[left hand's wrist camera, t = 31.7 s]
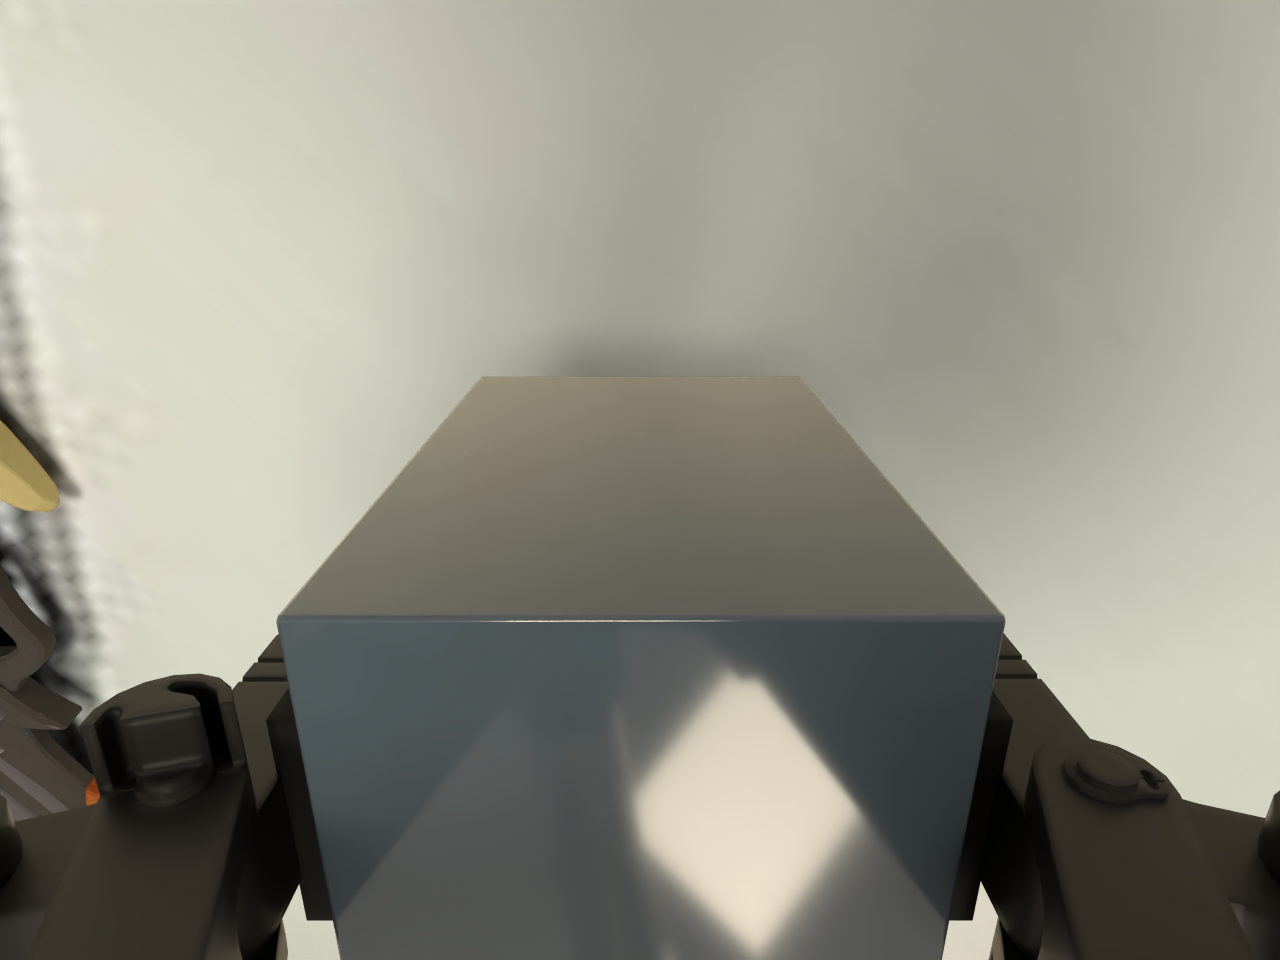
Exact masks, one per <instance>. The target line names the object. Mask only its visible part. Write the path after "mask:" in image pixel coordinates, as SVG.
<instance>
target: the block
mask: <svg viewBox="0 0 1280 960" xmlns="http://www.w3.org/2000/svg"><path fill="white" fill-rule="evenodd" d="M277 627H278V632H279V638H280V643H281V648H282V653H283V659H284V664H285V669H286V675H287V680H288V685H289V690H290V696H291V701H292V706H293V712H294V717H295V722H296V727H297V733H298V738H299V743H300V749H301V754H302V759H303V764H304V770H305V775H306V780H307V786H308V791H309V796H310V801H311V807H312V812H313V817H314V823H315V828H316V833H317V838H318V844H319V849H320V854H321V859H322V865H323V870H324V875H325V881H326V886H327V891H328V896H329V902H330V907H331V912H332V918H333V923H334V928H335V933H336V939H337V944H338V949H339V955H340V960H942V955H943V950H944V945H945V940H946V934H947V929H948V924H949V918H950V913H951V908H952V902H953V897H954V892H955V886H956V881H957V876H958V871H959V865H960V860H961V855H962V849H963V844H964V839H965V833H966V828H967V823H968V818H969V812H970V807H971V802H972V796H973V791H974V786H975V780H976V775H977V770H978V764H979V759H980V754H981V749H982V743H983V738H984V733H985V727H986V722H987V717H988V711H989V706H990V701H991V696H992V690H993V685H994V680H995V674H996V669H997V664H998V658H999V653H1000V648H1001V642H1002V637H1003V632H1004V627H1005V617H1004V615H1003V613H1002V612H1001V611H1000V610H999V609H998V608H997V606H996V605H995V604H994V603H993V602H992V601H991V599H990V598H989V597H988V596H987V595H986V594H985V592H984V591H983V590H982V589H981V588H980V587H979V585H978V584H977V583H976V582H975V581H974V580H973V578H972V577H971V576H970V575H969V574H968V573H967V571H966V570H965V569H964V568H963V567H962V566H961V564H960V563H959V562H958V561H957V560H956V559H955V557H954V556H953V555H952V554H951V553H950V552H949V550H948V549H947V548H946V547H945V546H944V545H943V543H942V542H941V541H940V540H939V539H938V538H937V536H936V535H935V534H934V533H933V532H932V531H931V529H930V528H929V527H928V526H927V525H926V524H925V522H924V521H923V520H922V519H921V518H920V517H919V515H918V514H917V513H916V512H915V511H914V510H913V508H912V507H911V506H910V505H909V504H908V503H907V501H906V500H905V499H904V498H903V497H902V496H901V494H900V493H899V492H898V491H897V490H896V489H895V487H894V486H893V485H892V484H891V483H890V482H889V480H888V479H887V478H886V477H885V476H884V475H883V473H882V472H881V471H880V470H879V469H878V468H877V466H876V465H875V464H874V463H873V462H872V460H871V459H870V458H869V457H868V456H867V455H866V453H865V452H864V451H863V450H862V449H861V448H860V446H859V445H858V444H857V443H856V442H855V441H854V439H853V438H852V437H851V436H850V435H849V434H848V432H847V431H846V430H845V429H844V428H843V427H842V425H841V424H840V423H839V422H838V421H837V420H836V418H835V417H834V416H833V415H832V414H831V413H830V411H829V410H828V409H827V408H826V407H825V406H824V404H823V403H822V402H821V401H820V400H819V399H818V397H817V396H816V395H815V394H814V393H813V392H812V390H811V389H810V388H809V387H808V386H807V385H806V383H805V382H804V381H803V380H802V379H801V378H800V377H481V378H480V379H479V380H478V381H477V382H476V383H475V385H474V386H473V387H472V388H471V389H470V391H469V392H468V393H467V394H466V395H465V396H464V398H463V399H462V400H461V401H460V402H459V403H458V405H457V406H456V407H455V408H454V409H453V411H452V412H451V413H450V414H449V415H448V416H447V418H446V419H445V420H444V421H443V422H442V423H441V425H440V426H439V427H438V428H437V429H436V431H435V432H434V433H433V434H432V435H431V436H430V438H429V439H428V440H427V441H426V442H425V443H424V445H423V446H422V447H421V448H420V449H419V451H418V452H417V453H416V454H415V455H414V456H413V458H412V459H411V460H410V461H409V462H408V463H407V465H406V466H405V467H404V468H403V469H402V470H401V472H400V473H399V474H398V475H397V476H396V478H395V479H394V480H393V481H392V482H391V483H390V485H389V486H388V487H387V488H386V489H385V490H384V492H383V493H382V494H381V495H380V496H379V498H378V499H377V500H376V501H375V502H374V503H373V505H372V506H371V507H370V508H369V509H368V510H367V512H366V513H365V514H364V515H363V516H362V518H361V519H360V520H359V521H358V522H357V523H356V525H355V526H354V527H353V528H352V529H351V530H350V532H349V533H348V534H347V535H346V536H345V537H344V539H343V540H342V541H341V542H340V543H339V545H338V546H337V547H336V548H335V549H334V550H333V552H332V553H331V554H330V555H329V556H328V557H327V559H326V560H325V561H324V562H323V563H322V565H321V566H320V567H319V568H318V569H317V570H316V572H315V573H314V574H313V575H312V576H311V577H310V579H309V580H308V581H307V582H306V583H305V585H304V586H303V587H302V588H301V589H300V590H299V592H298V593H297V594H296V595H295V596H294V597H293V599H292V600H291V601H290V602H289V603H288V605H287V606H286V607H285V608H284V609H283V610H282V612H281V613H280V614H279V615H278V617H277Z"/></svg>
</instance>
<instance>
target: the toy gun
mask: <svg viewBox="0 0 1280 960" xmlns="http://www.w3.org/2000/svg"><path fill="white" fill-rule="evenodd" d="M0 500H2V501H4V502H6V503H8V504H10V505H12V506H15V507H18V508H21V509H24V510H29V511H41V512H48V511H52V510H53V509H54V508H56V507H57V506H58V505H59V503H60V499H59V494H58V490H57V487H56V485H55V484H54V482H53V481H52V479H51V478H50V477H49V476H48V474H47V473H46V472H45V471H44V469H43V468H42V467H41V465H40V464H39V463H38V462H37V460H36V459H35V458H34V457H33V456H32V455H31V454H30V452H29V451H28V450H27V449H26V448H25V447H24V446H23V444H22V443H21V442H20V441H19V440H18V439H17V437H16V436H15V435H14V434H13V433H12V432H11V431H10V430H9V429H8V427H7V426H6V425H5V424H4V423H3V422H2V421H1V420H0ZM0 626H1V628H2V629H3V630H4V631H5V632H6V633H7V634H8V635H9V636H10V637H11V638H12V639H13V640H14V641H15V643H16V644H17V645H16V646H0V794H1V795H2V796H4V797H5V798H6V799H7V801H8V804H9V807H10V810H11V812H12V815H13V818H14V821H15V822H16V821H21V820H25V819H30V818H34V817H39V816H43V815H48V814H53V813H57V812H62V811H66V810H71V809H76V808H80V807H84V806H88V805H91V804H95V803H97V802H98V799H99V797H100V793H99V790H98V786H97V783H96V780H95V777H94V775H93V774H91V773H89V772H88V771H87V770H86V769H85V768H84V767H83V766H82V765H80V764H79V763H78V762H77V761H76V760H75V759H74V758H73V757H72V756H71V755H69V754H68V753H67V752H66V751H65V750H64V749H63V748H62V747H61V746H60V745H58V744H57V742H56V741H55V740H54V739H53V737H52V736H51V735H50V733H49V732H48V731H47V730H64V729H66V728H67V727H68V726H69V725H70V723H71V722H72V721H73V720H74V719H75V717H76V716H77V715H78V714H79V713H80V712H81V710H82V707H81V706H79V705H78V704H76V703H73V702H71V701H69V700H67V699H65V698H63V697H61V696H59V695H57V694H55V693H53V692H52V691H50V690H49V689H47V688H46V687H44V686H43V685H41V684H40V683H38V682H37V681H36V680H34V679H33V678H31V677H30V675H32V674H33V673H34V672H36V671H37V670H38V669H39V668H40V667H41V666H42V665H43V664H44V663H45V662H46V661H47V660H48V659H49V658H50V657H51V655H52V654H53V651H54V649H55V646H56V637H55V634H54V633H53V632H52V630H51V629H50V628H49V627H48V626H47V625H45V624H44V623H43V622H42V621H41V620H40V619H39V618H38V617H37V616H36V615H35V614H34V613H33V612H32V611H31V610H30V609H29V608H28V606H27V605H26V604H25V603H24V601H23V600H22V599H21V597H20V596H19V595H18V593H17V592H16V590H15V589H14V587H13V585H12V584H11V582H10V580H9V578H8V577H7V575H6V573H5V571H4V569H3V568H2V566H1V564H0Z"/></svg>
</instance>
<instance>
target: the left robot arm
mask: <svg viewBox="0 0 1280 960" xmlns="http://www.w3.org/2000/svg"><path fill="white" fill-rule="evenodd" d="M79 728H80V731H81V735H82V738H83V741H84V744H85V748H86V751H87V754H88V757H89V761H90V764H91V767H92V770H93V774H94V777H95V780H96V783H97V786H98V790H99V793H100V797H99V799H98V802H97V803H95V804H91V805H88V806H84V807H80V808H76V809H71V810H66V811H62V812H57V813H53V814H48V815H43V816H39V817H34V818H30V819H25V820H21V821H16V822H15V821H14V818H13V815H12V812H11V810H10V807H9V804H8V801H7V799H6V798H5V797H4V796H2V795H1V794H0V960H287V956H288V949H287V941H286V934H285V929H284V925H283V920H282V918H283V916H284V914H285V912H286V910H287V908H288V906H289V904H290V902H291V899H292V897H293V895H294V893H295V891H296V889H297V887H298V885H299V884H300V889H301V894H302V899H303V904H304V909H305V913H306V918H307V920H333V918H332V912H331V907H330V902H329V896H328V891H327V886H326V881H325V875H324V870H323V865H322V859H321V854H320V849H319V844H318V838H317V833H316V828H315V823H314V817H313V812H312V807H311V801H310V796H309V791H308V786H307V780H306V775H305V770H304V764H303V759H302V754H301V749H300V743H299V738H298V733H297V727H296V722H295V717H294V712H293V706H292V701H291V696H290V690H289V685H288V680H287V675H286V669H285V664H284V659H283V653H282V648H281V643H280V638H279V634H278V635H277V636H276V637H275V638H274V639H273V640H272V642H271V643H270V644H269V645H268V647H267V648H266V649H265V650H264V652H263V653H262V654H261V655H260V656H259V658H258V663H254V664H253V665H252V666H251V668H250V669H249V670H248V671H247V672H246V674H245V675H244V676H243V681H242V682H238V684H237V685H236V686H235V687H234V688H233V690H232V689H231V687H230V686H229V685H228V684H227V683H225V682H224V681H223V680H222V679H221V678H218V677H213V676H209V675H204V674H186V675H173V676H169V677H164V678H160V679H156V680H152V681H148V682H145V683H142V684H140V685H137V686H135V687H133V688H130V689H128V690H126V691H123V692H121V693H119V694H117V695H115V696H114V697H112V698H111V699H109V700H108V701H106V702H104V703H103V704H101V705H100V706H98V707H97V708H95V709H94V710H93V711H92V712H91V713H90V714H89V716H88V717H87V718H86V719H85V720H84V721H83V722H82V724H81V725H80V726H79ZM980 881H981V882H982V884H983V886H984V888H985V890H986V892H987V895H988V897H989V899H990V901H991V903H992V905H993V907H994V909H995V911H996V913H997V915H998V920H997V925H996V929H995V934H994V938H993V943H992V947H991V952H990V957H989V960H1280V791H1279V792H1277V793H1276V794H1275V795H1274V797H1273V799H1272V802H1271V805H1270V808H1269V810H1268V813H1267V816H1266V818H1262V817H1257V816H1253V815H1248V814H1243V813H1239V812H1234V811H1230V810H1225V809H1220V808H1216V807H1211V806H1207V805H1202V804H1197V803H1194V802H1190V801H1187V800H1183V799H1182V798H1181V796H1180V794H1179V793H1178V791H1177V790H1176V789H1175V787H1174V786H1173V785H1172V783H1171V782H1170V781H1169V779H1168V778H1167V776H1165V775H1164V774H1163V773H1161V772H1160V771H1159V770H1158V769H1156V768H1155V767H1154V766H1152V765H1151V764H1150V763H1148V762H1147V761H1146V760H1144V759H1142V758H1140V757H1138V756H1136V755H1134V754H1132V753H1130V752H1128V751H1126V750H1124V749H1122V748H1120V747H1118V746H1114V745H1111V744H1107V743H1104V742H1100V741H1096V740H1093V739H1090V738H1089V737H1088V736H1087V734H1086V733H1085V732H1084V731H1083V730H1082V728H1081V727H1080V726H1079V725H1078V723H1077V722H1076V721H1075V720H1074V719H1073V717H1072V716H1071V715H1070V714H1069V712H1068V711H1067V710H1066V709H1065V708H1064V706H1063V705H1062V704H1061V703H1060V701H1059V700H1058V699H1057V698H1056V697H1055V695H1054V694H1053V693H1052V692H1051V690H1050V689H1049V688H1048V687H1047V686H1046V684H1045V683H1044V682H1043V681H1042V679H1038V678H1037V673H1036V672H1035V671H1034V670H1033V668H1032V667H1031V666H1030V665H1029V664H1028V662H1027V661H1026V660H1022V655H1021V654H1020V653H1019V651H1018V650H1017V649H1016V648H1015V646H1014V645H1013V644H1012V643H1011V642H1010V640H1009V639H1008V638H1007V637H1006V635H1005V634H1004V633H1003V637H1002V642H1001V648H1000V653H999V658H998V664H997V669H996V674H995V680H994V685H993V690H992V696H991V701H990V706H989V711H988V717H987V722H986V727H985V733H984V738H983V743H982V749H981V754H980V759H979V764H978V770H977V775H976V780H975V786H974V791H973V796H972V802H971V807H970V812H969V818H968V823H967V828H966V833H965V839H964V844H963V849H962V855H961V860H960V865H959V871H958V876H957V881H956V886H955V892H954V897H953V902H952V908H951V913H950V918H949V920H973V916H974V911H975V906H976V901H977V896H978V891H979V886H980Z"/></svg>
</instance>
